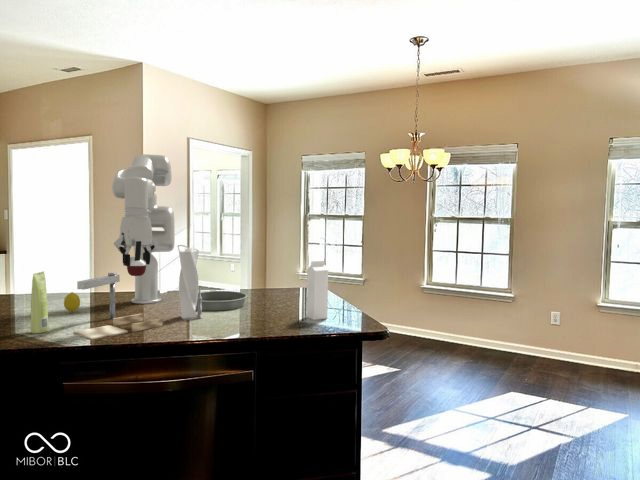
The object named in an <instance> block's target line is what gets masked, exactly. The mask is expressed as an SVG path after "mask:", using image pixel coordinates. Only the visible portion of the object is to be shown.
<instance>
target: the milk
mask: <svg viewBox="0 0 640 480" xmlns="http://www.w3.org/2000/svg"><path fill="white" fill-rule="evenodd" d="M325 263H326V261H325V260H317V261H315V260H311V262H310V266H309V267H308V268H307V272H306V273H307V277H306V278H307V282H306V283H307V285H306V288H307V290H306V317H307V318H309V319H311V320H313V321H317V320H324V319H328V309H329V308H328V306H329V305H328V302H329V301H328V300H329V293H328V292H329V269H328V268H327V266H326V264H325Z"/></svg>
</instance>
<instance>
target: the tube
mask: <svg viewBox="0 0 640 480" xmlns="http://www.w3.org/2000/svg"><path fill="white" fill-rule="evenodd" d="M32 275H33V276H32V279H31V280H32V281H31V283H32V284H31V293H30V294H31V298H30V299H31V300H30V301H31V302H30V307H31V308H30V333H32V334H43V333H45V332H48V331H49V311H48V310H49V309H48V308H49V307H48V294H47V292H48V291H47V284H46V283H47V282H46V275H45V271H39V272H35V273H33V274H32Z"/></svg>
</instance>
